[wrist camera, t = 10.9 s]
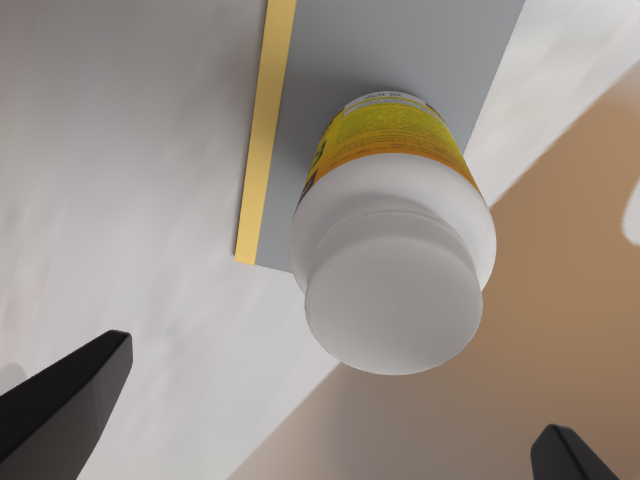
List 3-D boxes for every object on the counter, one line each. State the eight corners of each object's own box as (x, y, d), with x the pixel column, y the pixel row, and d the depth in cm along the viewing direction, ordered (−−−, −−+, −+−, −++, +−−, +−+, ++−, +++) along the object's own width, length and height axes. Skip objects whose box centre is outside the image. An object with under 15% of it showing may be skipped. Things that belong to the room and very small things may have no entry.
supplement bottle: (314, 89, 17) (253, 199, 9) (459, 85, 17) (551, 199, 8) (321, 215, 20) (280, 394, 11) (445, 215, 19) (503, 406, 11)
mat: (236, 256, 22) (234, 260, 22) (284, -112, 14) (283, -114, 14) (404, 295, 22) (405, 300, 22) (541, -47, 15) (545, -48, 14)
